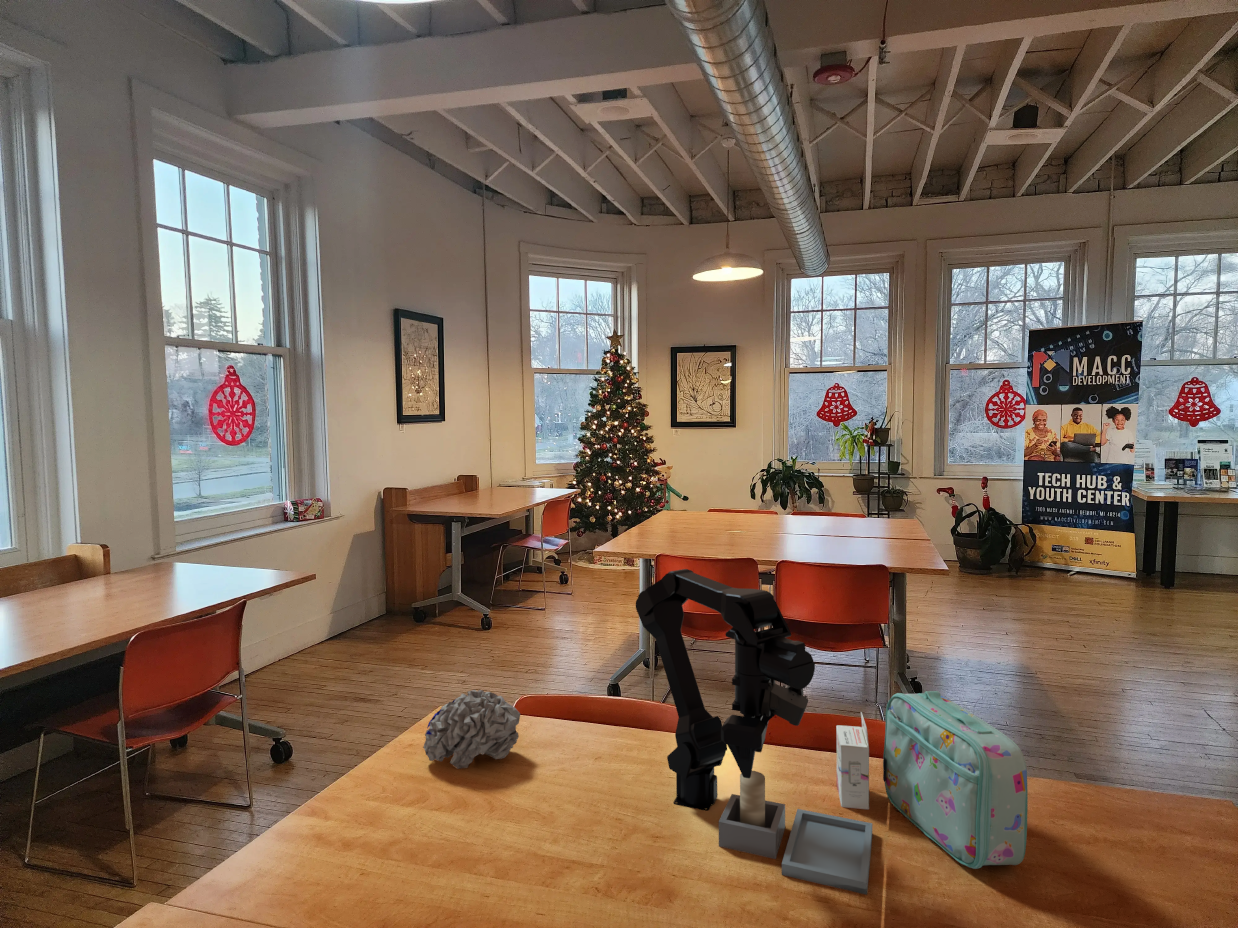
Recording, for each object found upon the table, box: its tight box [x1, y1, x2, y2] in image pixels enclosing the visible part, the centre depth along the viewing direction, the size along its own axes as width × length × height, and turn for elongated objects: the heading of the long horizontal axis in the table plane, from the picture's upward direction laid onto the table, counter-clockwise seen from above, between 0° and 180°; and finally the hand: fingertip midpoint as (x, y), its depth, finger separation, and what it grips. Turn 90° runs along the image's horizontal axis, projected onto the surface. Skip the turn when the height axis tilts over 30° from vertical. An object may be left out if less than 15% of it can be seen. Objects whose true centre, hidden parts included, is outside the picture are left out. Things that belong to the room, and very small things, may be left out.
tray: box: [781, 808, 873, 896], centre depth 109 cm, size 12×16×2 cm
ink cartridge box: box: [835, 711, 870, 810], centre depth 125 cm, size 9×5×15 cm, turn 168°
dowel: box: [739, 770, 766, 828], centre depth 113 cm, size 4×4×10 cm
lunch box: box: [882, 690, 1029, 870], centre depth 115 cm, size 27×10×21 cm, turn 12°
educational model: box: [422, 689, 521, 770], centre depth 142 cm, size 14×20×15 cm
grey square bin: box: [718, 793, 786, 860], centre depth 113 cm, size 9×9×4 cm
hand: (752, 764), depth 113 cm, fingers open, 9 cm apart
